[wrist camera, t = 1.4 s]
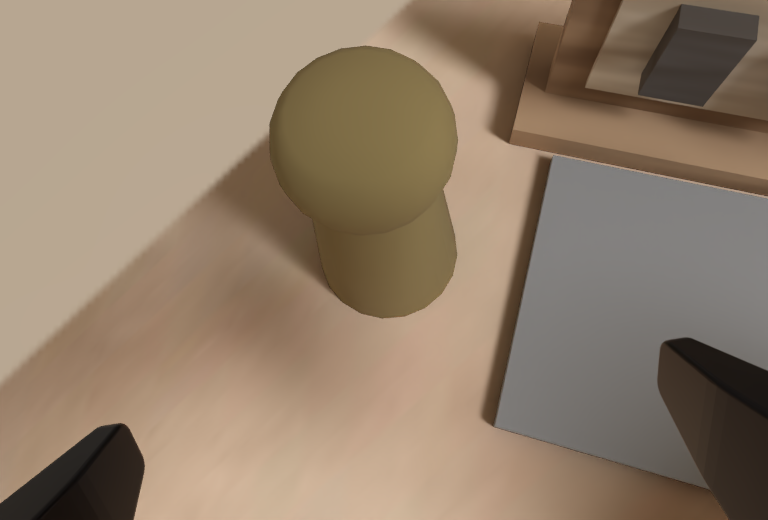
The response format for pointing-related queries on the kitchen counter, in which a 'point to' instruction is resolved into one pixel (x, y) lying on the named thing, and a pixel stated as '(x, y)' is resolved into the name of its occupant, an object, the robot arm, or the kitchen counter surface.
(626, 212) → the mat
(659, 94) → the switch panel
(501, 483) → the kitchen counter surface
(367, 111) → the cork
